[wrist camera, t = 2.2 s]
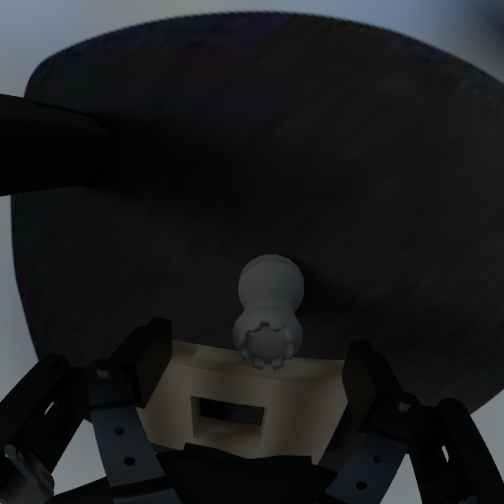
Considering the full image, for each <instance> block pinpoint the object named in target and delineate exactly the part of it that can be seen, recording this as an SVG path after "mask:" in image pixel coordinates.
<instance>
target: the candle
mask: <svg viewBox="0 0 504 504" xmlns="http://www.w3.org/2000/svg"><path fill="white" fill-rule="evenodd" d="M89 115H90V114H89V113H87V112H84V111H80V110H76V109H72V108H68V107H64V106H60V105H56V104H51V103H47V102H42V101H37V100H32V99H27V98H22V97H17V96H11V95H4V94H0V197H1V196H7V195H13V194H19V193H25V192H32V191H39V190H47V189H55V188H63V187H73V186H82V185H85V184H86V183H88V181H89V180H90V178H91V177H92V175H93V173H94V172H95V170H96V168H97V167H98V165H99V164H100V162H101V160H102V159H103V157H104V156H105V154H106V153H107V151H108V149H109V147H110V142H111V138H110V134H109V132H108V131H107V130H105V129H102V128H101V127H99V126H98V125H97V124H96V123H95V122H94V121H93V120H92V119H91V118H90V117H89Z"/></svg>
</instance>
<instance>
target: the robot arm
mask: <svg viewBox="0 0 504 504" xmlns="http://www.w3.org/2000/svg"><path fill="white" fill-rule="evenodd" d="M172 351H173V347H172V328H171V321H170V320H167V319H161V318H156V317H154V318H152V320H151V321H150V322H149V323H148V324H147V326H140V327H138V328H136V329H134V330H133V331H132V332H131V333H130V334H129V335H128V336H127V338H126V339H125V340H124V341H123V343H121V344H120V346H119V347H118V348H117V349H116V350H115V351H114V352H113V354H112V355H111V356H110V357H109V358H108V359H98V360H95V361H93V362H91V363H90V364H89V365H88V367H87V368H81V367H71V366H70V364H69V361H68V359H67V358H66V357H65V356H64V355H61V354H49V355H47V356H45V357H43V358H42V359H41V360H40V361H39V362H38V363H37V364H36V365H35V366H34V367H33V368H32V369H31V370H30V371H29V372H28V373H27V374H26V375H25V376H24V377H23V378H22V379H21V380H20V381H19V382H18V383H17V385H16V386H15V387H14V388H13V389H12V390H11V391H10V392H9V393H8V394H7V395H6V397H5V398H4V399H3V400H2V401H1V402H0V503H1V504H380V502H381V501H382V498H383V497H384V495H385V493H386V492H387V490H388V488H389V486H390V485H391V483H392V480H393V479H394V477H395V475H396V473H397V470H398V468H399V467H400V465H401V463H402V460H403V458H404V456H405V454H409V455H410V459H411V462H412V466H413V469H414V473H415V477H416V480H417V484H418V488H419V492H420V496H421V500H422V504H504V482H503V480H502V478H501V476H500V473H499V471H498V469H497V466H496V464H495V462H494V460H493V458H492V456H491V454H490V452H489V450H488V448H487V446H486V444H485V442H484V440H483V439H482V436H481V435H480V433H479V431H478V429H477V427H476V425H475V423H474V421H473V420H472V418H471V416H470V414H469V413H468V411H467V409H466V407H465V406H464V404H463V403H462V402H460V401H459V400H457V399H454V398H444V399H442V400H441V401H440V402H439V403H438V405H437V407H432V406H424V405H420V402H419V400H418V398H417V397H416V396H414V395H413V394H411V393H409V392H405V391H403V390H402V388H401V386H400V384H399V382H398V380H397V378H396V377H395V375H394V373H393V371H392V369H391V367H389V366H390V365H389V363H388V362H387V360H386V358H385V357H384V356H382V355H381V354H380V353H379V352H374V350H373V348H372V346H371V344H370V342H369V341H352V342H351V344H350V347H349V350H348V353H347V356H346V359H345V362H344V366H343V369H342V383H343V386H344V390H345V393H346V397H347V400H348V404H349V408H350V411H351V415H352V419H353V423H354V426H355V430H356V433H366V436H365V437H364V439H363V440H362V442H361V444H360V445H359V447H358V448H357V450H356V451H355V452H354V454H353V455H352V457H351V458H350V460H349V461H348V462H347V464H346V465H345V466H344V468H343V469H342V471H341V472H340V473H339V474H337V473H336V472H334V471H332V470H330V469H328V468H325V467H323V466H319V465H316V464H312V456H297V455H277V456H270V457H262V458H252V459H248V458H243V457H240V456H237V455H234V454H231V453H228V452H226V451H223V450H220V449H217V448H213V447H207V446H202V445H197V444H192V443H187V442H185V445H184V448H183V450H170V451H164V452H160V453H157V454H155V453H154V451H153V448H152V446H151V444H150V442H149V439H148V437H147V435H146V432H145V430H144V428H143V425H142V423H141V420H140V418H139V415H138V412H137V410H136V407H137V408H141V409H145V407H146V405H147V403H148V402H149V400H150V398H151V396H152V394H153V392H154V390H155V388H156V387H157V385H158V383H159V381H160V379H161V377H162V376H163V374H164V372H165V370H166V368H167V366H168V365H169V363H170V361H171V358H172ZM52 402H53V403H54V404H53V405H52V406H51V408H50V409H49V410H48V412H47V413H46V414H45V412H46V409H47V408H48V407H49V406H50V404H51V403H52ZM84 418H90V419H92V423H93V428H94V432H95V437H96V440H97V445H98V448H99V452H100V456H101V459H102V463H103V466H104V470H105V473H106V477H104V478H101V479H98V480H96V481H94V482H91V483H89V484H86V485H83V486H80V487H78V488H75V489H72V490H69V491H66V492H63V493H60V494H57V495H55V496H53V495H54V491H53V490H54V479H53V477H52V475H51V473H52V472H53V470H54V468H55V467H56V465H57V463H58V461H59V460H60V458H61V456H62V454H63V453H64V451H65V449H66V447H67V446H68V444H69V442H70V441H71V439H72V437H73V435H74V434H75V432H76V430H77V429H78V427H79V426H80V424H81V422H82V421H83V419H84ZM443 446H445V448H446V450H447V453H448V456H449V460H448V463H447V460H446V458H445V455H444V453H443V450H442V447H443Z"/></svg>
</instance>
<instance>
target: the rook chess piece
mask: <svg viewBox="0 0 504 504" xmlns="http://www.w3.org/2000/svg"><path fill="white" fill-rule="evenodd" d="M238 291H239V299H240V301H241V303H242V305H243V306H244V308H245V309H244V311H243V314H242V315H241V316H240V317H239V318H238V319H237V320H236V323H235V326H234V328H233V331H232V333H233V340H234V344H235V346H236V347H237V349H238V350H239V354H240V356H241V358H242V359H243V361H246V360H247V359H249V360H251V361H253V366H252V367H253V368H257V369H260V370H263V365H264V364H272V367H273V370H275V369H278V368H280V367H283V361H285V360H287V359H290V360H291V359H292V357H293V355H294V354H295V353H296V352H297V351H298V349H299V347H300V345H301V343H302V328H301V326H300V324H299V322H298V320H297V318H296V315H295V313H294V312H295V311H296V310H297V309H298V308H299V306H300V303H301V301H302V299H303V296H304V278H303V276H302V273H301V271H300V269H299V267H298V266H297V265H296V264H294V263H293V262H292V261H291V260H290V259H289V258H286V257H283V256H280V255H277V254H272V255H262V256H260V257H257V258H255V259H253V260H251V261H250V262H249V263H248V264H247V266H246V267H245V268H244V269H243V270H242V273H241V276H240V279H239V285H238Z"/></svg>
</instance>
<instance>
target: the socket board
mask: <svg viewBox="0 0 504 504" xmlns="http://www.w3.org/2000/svg"><path fill="white" fill-rule="evenodd" d="M122 343H123V342H122ZM172 347H173V351H172V358H171V361H170V363H169V365H168V366H167V368H166V370H165V372H164V374H163V376H162V377H161V379H160V381H159V383H158V385H157V387H156V388H155V390H154V392H153V394H152V396H151V398H150V400H149V402H148V403H147V405H146V407H145V409H141V408H137V407H136V410H137V412H138V415H139V418H140V420H141V423H142V425H143V428H144V430H145V432H146V435H147V437H148V439H149V442H152V443H156V444H159V445H163V446H166V447H170V448H174V449H177V450H183V448H184V445H185V442H187V443H192V444H197V445H202V446H207V447H213V448H217V449H220V450H223V451H226V452H228V453H231V454H234V455H237V456H240V457H243V458H248V459H252V458H262V457H270V456H277V455H297V456H312V464H316V465H317V464H318V462H319V460H320V459H321V457H322V455H323V453H324V451H325V449H326V447H327V445H328V443H329V441H330V439H331V437H332V435H333V433H334V431H335V429H336V427H337V425H338V423H339V421H340V419H341V416H342V414H343V412H344V410H345V407H346V405H347V403H348V400H347V397H346V393H345V390H344V386H343V383H342V369H343V366H344V362H345V360H326V359H310V358H297V357H292V359H291V360H290V359H287V360H285V361H283V367H280V368H278V369H275V370H273V367H272V364H264V365H263V370H260V369H257V368H253V367H252V366H253V361H251V360H249V359H247V360H246V361H243V359H242V358H241V356H240V354H239V351H236V350H229V349H222V348H216V347H210V346H204V345H199V344H193V343H188V342H182V341H177V340H172ZM200 397H201V398H207V399H212V400H218V401H224V402H230V403H237V404H244V405H251V406H260V407H265V411H264V416H263V421H262V425H254V424H246V423H239V422H232V421H225V420H219V419H214V418H208V417H203V416H201V413H200Z"/></svg>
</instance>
